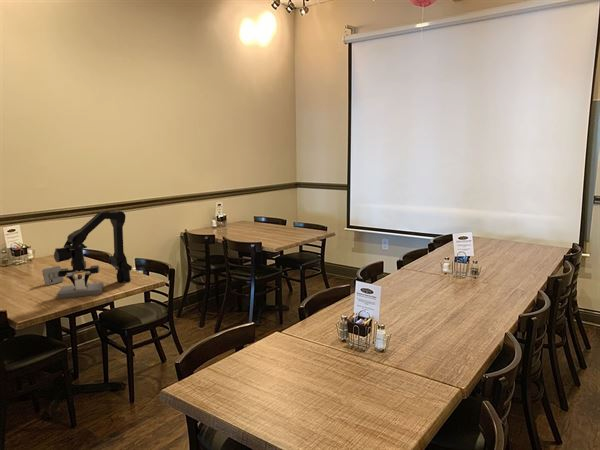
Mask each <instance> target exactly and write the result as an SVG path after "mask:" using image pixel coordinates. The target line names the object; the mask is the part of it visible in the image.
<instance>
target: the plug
mask: <svg viewBox="0 0 600 450" xmlns="http://www.w3.org/2000/svg"><path fill="white" fill-rule="evenodd" d="M75 287H76V290H82V289H86V288H87V287H85V276H84V277H83V275H82V273H81V274H80V273H79V274H77V277H75Z"/></svg>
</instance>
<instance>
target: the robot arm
mask: <svg viewBox="0 0 600 450" xmlns="http://www.w3.org/2000/svg"><path fill="white" fill-rule="evenodd" d="M105 220H109V221H110V223H111V225H112V229H113V231H112V232H113V233H112V234H113V248H114V249H113V251H114V252H113V254H112V255H110V257H109V259H110V262H109V263H110V264H111V266H112V267H113V268H114V270H115V271H116V272H117V273H116V281H117V283H118V284H120V283H129V282H131V279H132V277H131V271H132V269H133V267H132V265H130V264H129V263H128V260H127V257H126V254H125V252H124V230H123V228H124V227H123V226H124V225H125V223H126V214H125V212H124V211H121V210H116V209H114V210H111V211H102V210H100V211H98V212H96V214H95V215H94V216H93V217H92V218H91V219H89V221H87V223H85V224H84V225H83V226H82V227H81V228H79V229H77V230H75V231H72V233H69V234H68V235H67V240H66V241H65V243H64V245H63V247H56V248H55V249H54V253H53V258H54V260H55V262H56V263H59V262H60V263H61V262H66V261H70V266H71V267H72V269H69V268H67V267H65V268H61V269H60V270H59V272H58V277H63V278H64V277H66V278H68V279H69V280H70V281H71V283H72V285H74V286H75V279H76V276H75V275H76V274H80V273H81V274H82V273H85V274H84V277H85V287H86V286H87V284H88V281H89V278H90V276H92V275H93V274H94V275H95V274H99V272H100V266H99V265H90V267H88V268H87V262H86V261H85V255H84V250H85V249H87V247H88V246H86V245H85V244H84V242H85V241H86V239H87V238H88V236H89V234H91V232H93V231H94V230H95V229H96V228H98V226H99V225H100V224H101V223H102V222H103V221H105ZM75 288H76V287H75Z"/></svg>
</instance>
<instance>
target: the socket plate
mask: <svg viewBox="0 0 600 450" xmlns="http://www.w3.org/2000/svg"><path fill="white" fill-rule="evenodd" d="M104 286H105V285H104V282H103V281H102V282H93V283H91V282H90V283H87V286H86V287H87V288H86V289H82V290H76V288H75V286H74V284H72V285H63V286H61V287H60V289H59V291H58V292H57V294H56V296H57V300H58V299H59V300H60V299H71V298H81V297H87V296H97V295H101V294H102V292H103V290H104V288H105V287H104Z"/></svg>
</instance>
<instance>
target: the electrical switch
mask: <svg viewBox="0 0 600 450" xmlns="http://www.w3.org/2000/svg"><path fill="white" fill-rule="evenodd" d="M60 269H62V268H61V266H60V265H55V266H50V267H47V268H42V270H41V272H42V277H43V280H44V284H45V286H50V285H55V284H59V283H63V282H64V281H65V280H64V277H58V272H59V270H60Z"/></svg>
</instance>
